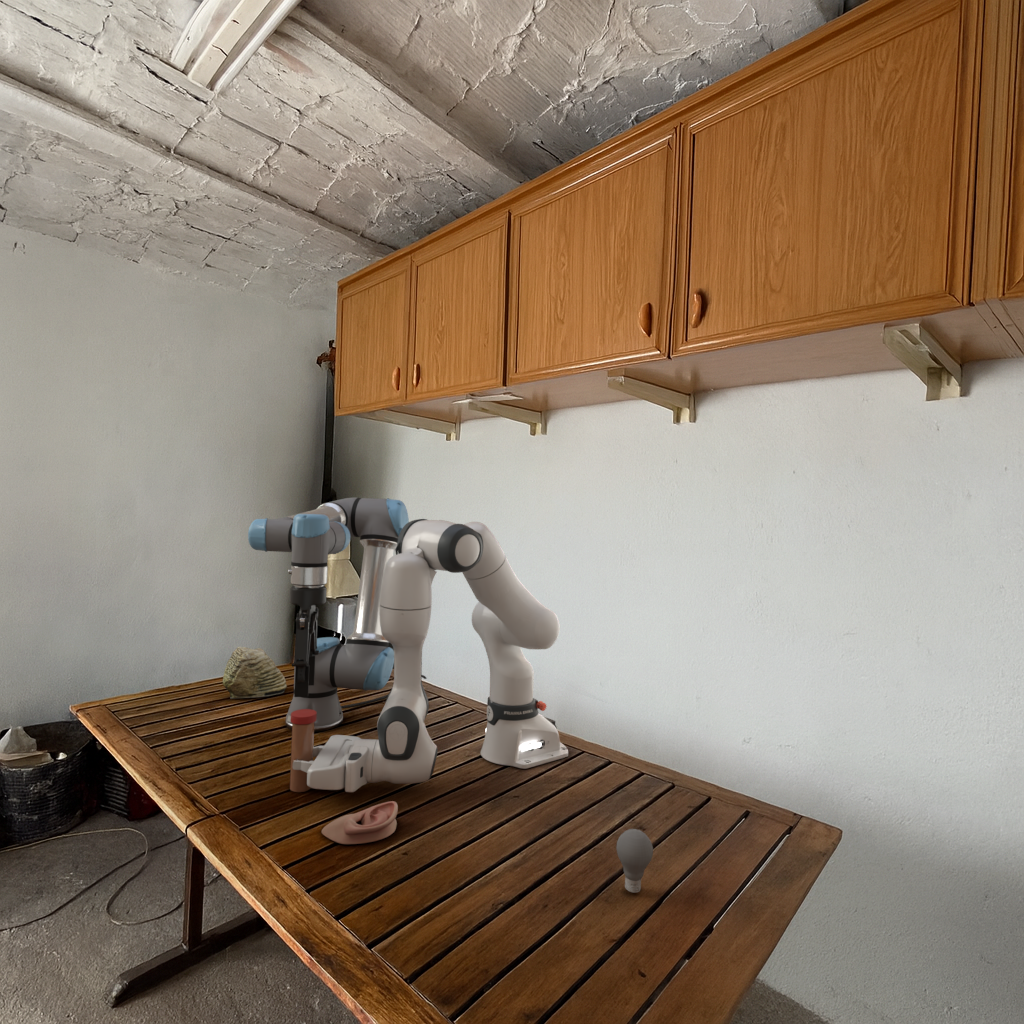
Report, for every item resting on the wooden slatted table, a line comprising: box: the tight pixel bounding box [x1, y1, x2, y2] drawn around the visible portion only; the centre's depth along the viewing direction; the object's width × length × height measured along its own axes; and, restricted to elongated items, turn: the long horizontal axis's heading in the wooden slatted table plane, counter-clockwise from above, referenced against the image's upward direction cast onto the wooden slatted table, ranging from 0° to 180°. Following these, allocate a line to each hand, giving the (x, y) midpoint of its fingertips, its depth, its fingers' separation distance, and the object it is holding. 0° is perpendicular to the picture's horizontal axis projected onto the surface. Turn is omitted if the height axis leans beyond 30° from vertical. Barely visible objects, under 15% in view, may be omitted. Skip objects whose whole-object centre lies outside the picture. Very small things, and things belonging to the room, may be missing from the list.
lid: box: [291, 709, 317, 725], centre depth 137 cm, size 5×5×2 cm
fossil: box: [222, 646, 288, 699], centre depth 198 cm, size 9×18×15 cm, turn 132°
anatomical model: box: [321, 800, 399, 845], centre depth 121 cm, size 13×4×12 cm
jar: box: [289, 722, 315, 793], centre depth 137 cm, size 5×5×16 cm
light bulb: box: [615, 828, 654, 894], centre depth 106 cm, size 6×6×10 cm
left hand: (304, 690), depth 137 cm, fingers open, 7 cm apart
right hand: (297, 758), depth 137 cm, fingers closed on jar, 4 cm apart
